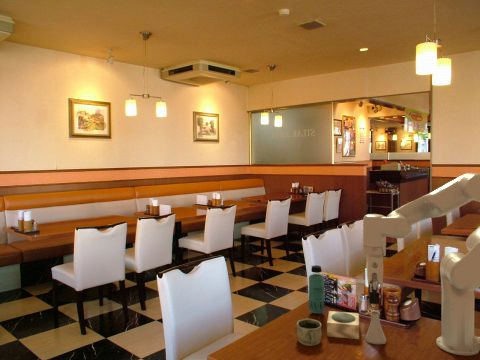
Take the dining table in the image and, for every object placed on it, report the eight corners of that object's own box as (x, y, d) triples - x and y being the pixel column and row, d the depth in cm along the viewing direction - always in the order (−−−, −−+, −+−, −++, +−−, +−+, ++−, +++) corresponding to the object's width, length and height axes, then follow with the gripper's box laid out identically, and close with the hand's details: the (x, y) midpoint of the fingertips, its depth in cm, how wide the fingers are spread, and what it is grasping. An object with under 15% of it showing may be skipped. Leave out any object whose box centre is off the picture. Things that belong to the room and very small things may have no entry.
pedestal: (358, 326, 150) (358, 312, 150) (359, 339, 139) (358, 324, 139) (329, 323, 153) (329, 310, 153) (327, 336, 143) (327, 322, 142)
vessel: (294, 333, 145) (294, 317, 145) (318, 332, 146) (317, 316, 145) (299, 349, 133) (299, 331, 133) (325, 348, 134) (325, 330, 133)
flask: (388, 346, 134) (387, 317, 134) (365, 344, 136) (365, 316, 135) (384, 336, 141) (384, 309, 141) (363, 335, 143) (363, 308, 142)
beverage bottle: (306, 312, 165) (305, 265, 164) (320, 310, 167) (319, 263, 166) (313, 318, 159) (312, 269, 158) (328, 315, 161) (327, 267, 160)
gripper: (387, 257, 127) (386, 309, 128) (384, 245, 144) (383, 291, 145) (363, 255, 129) (362, 306, 130) (362, 244, 146) (361, 289, 147)
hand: (373, 298), depth 138 cm, fingers open, 9 cm apart
